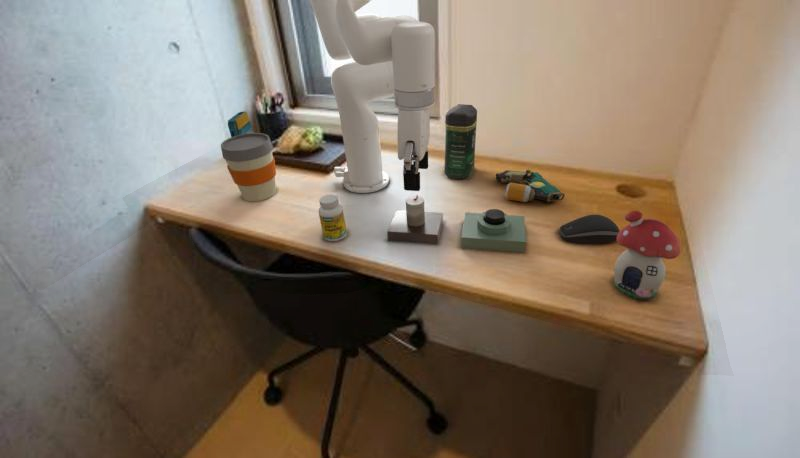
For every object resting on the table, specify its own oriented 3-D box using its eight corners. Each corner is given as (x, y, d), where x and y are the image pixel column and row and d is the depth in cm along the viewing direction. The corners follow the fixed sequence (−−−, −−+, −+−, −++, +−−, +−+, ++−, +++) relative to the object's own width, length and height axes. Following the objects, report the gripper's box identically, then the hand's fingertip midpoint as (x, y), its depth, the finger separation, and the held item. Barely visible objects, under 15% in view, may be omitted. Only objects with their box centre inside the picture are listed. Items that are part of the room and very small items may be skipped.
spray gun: (493, 178, 114) (549, 180, 113) (500, 206, 100) (564, 208, 98) (495, 164, 112) (552, 165, 111) (502, 190, 98) (567, 191, 96)
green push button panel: (460, 247, 87) (461, 230, 85) (464, 222, 95) (465, 205, 93) (524, 252, 85) (527, 234, 82) (523, 226, 93) (525, 208, 90)
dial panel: (388, 240, 91) (387, 231, 90) (396, 219, 98) (396, 210, 97) (437, 244, 89) (437, 235, 87) (442, 222, 96) (442, 212, 95)
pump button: (484, 225, 87) (484, 218, 86) (485, 215, 90) (485, 208, 89) (503, 226, 86) (504, 219, 85) (504, 216, 89) (504, 209, 88)
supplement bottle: (345, 227, 97) (340, 190, 91) (348, 239, 92) (342, 202, 87) (322, 231, 96) (315, 194, 90) (324, 244, 91) (317, 206, 86)
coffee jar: (469, 181, 112) (472, 114, 102) (441, 178, 115) (441, 112, 104) (477, 166, 120) (480, 102, 109) (450, 163, 122) (451, 100, 112)
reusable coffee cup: (247, 209, 106) (231, 155, 98) (228, 193, 114) (212, 142, 106) (291, 192, 113) (279, 140, 104) (270, 178, 121) (257, 129, 113)
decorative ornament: (598, 281, 76) (617, 211, 68) (619, 266, 79) (639, 198, 71) (649, 309, 70) (677, 236, 62) (669, 292, 73) (698, 220, 64)
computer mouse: (555, 227, 92) (557, 211, 89) (611, 225, 91) (616, 210, 89) (564, 245, 86) (567, 229, 84) (625, 244, 85) (630, 228, 83)
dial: (423, 227, 90) (422, 204, 87) (405, 225, 91) (403, 203, 88) (426, 217, 93) (425, 195, 90) (408, 216, 94) (407, 194, 91)
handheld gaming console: (251, 156, 136) (239, 111, 127) (263, 156, 135) (251, 110, 127) (238, 169, 128) (224, 122, 119) (251, 169, 127) (238, 121, 119)
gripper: (404, 83, 84) (407, 160, 94) (383, 111, 71) (389, 198, 80) (441, 83, 83) (440, 161, 93) (426, 113, 69) (427, 201, 79)
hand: (416, 178), depth 86 cm, fingers open, 9 cm apart
